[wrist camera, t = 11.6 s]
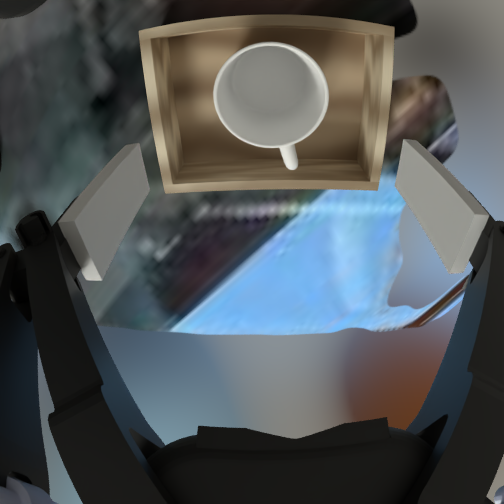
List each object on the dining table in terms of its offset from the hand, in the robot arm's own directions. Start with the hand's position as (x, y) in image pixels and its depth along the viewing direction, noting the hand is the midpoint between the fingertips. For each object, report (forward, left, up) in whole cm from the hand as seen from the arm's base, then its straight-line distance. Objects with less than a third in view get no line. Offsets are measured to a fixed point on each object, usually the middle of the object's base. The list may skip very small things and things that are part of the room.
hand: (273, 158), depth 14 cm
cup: (0, +1, -19) cm, 19 cm away
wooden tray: (0, 0, -19) cm, 19 cm away
